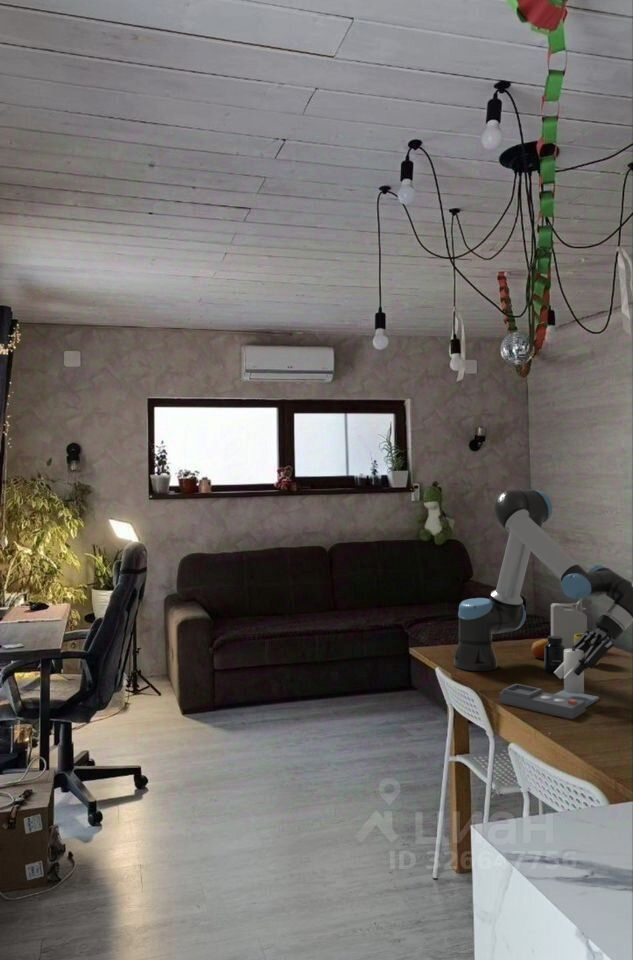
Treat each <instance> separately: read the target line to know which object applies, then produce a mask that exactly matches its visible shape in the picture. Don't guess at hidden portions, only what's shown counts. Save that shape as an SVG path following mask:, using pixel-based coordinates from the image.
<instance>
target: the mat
mask: <svg viewBox="0 0 633 960" xmlns="http://www.w3.org/2000/svg"><path fill="white" fill-rule="evenodd" d="M553 694H554V695H559V696H563V697H568V698H573V699H578V700H582V701H585V708H587V707H588V706H591V705H592V704H594V703H596V702H598V701H599V700H600V696H596V695H591V694H586V693H579V694H575V693H568V692H566V691H564V689H561V690H560V691H558V692H556V693H553Z"/></svg>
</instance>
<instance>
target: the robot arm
mask: <svg viewBox="0 0 633 960" xmlns="http://www.w3.org/2000/svg"><path fill="white" fill-rule="evenodd" d="M493 513H494V516H495V518H496V520H497V522H498V523H499V525H501V527H502V528H503V529H504V530H505V531H506V532H507V533H508V538H507V543H506V545H505V551H504V554H503V559H502V564H501V567H500V571H499V576H498V580H497V581H498V582H497V584H496V589H494V590H492V591H491V592H490V594H489V595H490V596H489V598H486V597H476V598H468V599H464V600H462V601H461V602H460V603H459V606H458V612H457V613H458V614H457V616H458V645H457V647H456V651H455V654H454V657H453V666H454V667H456V668H458V669H460V670H464V671H473V672H488V671H489V672H490V671H494V670H496V669H497V668H498V659H497V656H496V653H495V650H494V646H493V635H494V634H502V633H510V632H514V631H517V630H518V629H520V628H522V626H523V625H524V623H525V621H526V617H527V616H526V615H527V612H526V610H525V605H524V604H523V603H524V599H523V598H522V596H521V593H522V592H521V591H522V588H523V584H524V580H525V575H526V572H527V567H528V565H529V564H528V563H529V559H530V556H531V553H532V554H533V555H534V556H535V557H536V558H537V559H538V560H539V561H540V562H541V563H542V564H543V565H544V566H545V567H546V568H547V569H548V570H549V571H550V572H551V573H552V574H553V575H554V576H555V577H556V579H558V580H559V581H560V582H561V583H560V584H561V585H560V587H561V590H562V593H563V594H564V595H565V596H566V597H567V598H570V599H574V600H576V599H577V600H578V599H579V600H580V599H583V600H584V599H586V598H592V597H593V598H594V597H600V596H605V597H608V598H609V599H611V600H612V601H614V602H612V603H611V605H609V607H607V608H606V610H605V611H604V612H603V613H604V614H601V616H600V617H599V618H597V619H596V621H595V625H596V627H595V628H594V629H593V630H591V631H589V630H588V629H587V630H586V631H585V632H584V634H583V635H582V636H581V638H580V639H579V640H578V641H577V642H576V643H575V644H574V645H575V649H579V650H582V651H584V654H585V653H586V652H587V653H586V654H585V656H584V657H583V659H582V660H578V661H579V662H580V663H581V664H580V663H579V662H577V663H576V664H575V665H574V667H573V668H572V669H571V670H570V671H569V672H568V673H567V674H566V675H565V676H564V662H563V663H562V664H561V665H560V666H559V667H558V668H557V669H556V671H555V672H554V673H555V674H554V675H556V676H557V677H558V679H560V680H562V679H563V680H564V679H565V680H566V681H567V682H568V683H569V684H570V685H571V684H572V683H573V682H574V680H575V679H576V678H577V677H578V676H579V675H580V674H581V673H582V672H583V671H584V672H585V670H587V669H591V670H592V669H593V668H594V667H596V666H597V665H596V664H597V662H598V661H599V660H601V659H602V658H603V657H604V656H605V654H607V652H608V651H610V649H612V648H613V647H614V645H615V644H614V643H613V642H612V640H614V641H615V640H618V638H620V637H621V636H622V634H623V633H624V631H625V630H627V628H628V627H630V626H631V624H632V622H633V580H632V581H630V580H627V579H626V578H624V577H623V576H621V575H619V574H618V573H617V572H615V571H613V570H612V569H610V568H609V567H607V566H604V565H602V564H596V565H594V566H592V567H591V568H590V569H589V570H588V571H586V570H585V569H584V568H582V567H581V565H580V564H578V562H576V560H575V559H573V558H572V557H571V556H570V554H568V552H566V551H565V550H564V548H563V547H561V546H560V545H559V544H558V542H556V541H555V540H554V539H552V537H551V536H550V535H549V534H548V533H546V531H544V530H543V529H542V527H543V526H542V525H543V523H546V522H547V521H548V520H550V518H551V517H552V515H553V504H552V501H551V500H550V497H549V495H548V494H546V493H545V492H544V491H542V490H538V489H531V488H530V489H507V490H504V491H503V492H501V493H500V494H498V496H497V497H496V498H495V501H494V504H493ZM570 649H572V647H571V648H570ZM599 662H600V661H599ZM591 663H592V664H591Z"/></svg>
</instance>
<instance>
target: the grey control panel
mask: <svg viewBox="0 0 633 960" xmlns="http://www.w3.org/2000/svg"><path fill="white" fill-rule="evenodd" d="M498 693H499V699H498V700H499V703H500V704H502V705H503V704H504V705H508V706H513V707H517V708H521V709H526V710H528V711H529V710H530V711H533V712H538V713H539V712H540V713H543V714H547V715H551V716H556V717H559V718H560V717H561V718H564V719H569V720H573V719H575V718H577V717H579V716H580V715H582V714H584V713H585V712H586V707H585V701H582V700H578V699H573V698H568V697H563V696H559V695H554V694H555V693H549V692H544V691H543V689H542V688H540V687H534V686H531V685H525V684H520V683H514V684H511V685H509V686H507V687H505V688H502V691H500V692H498Z"/></svg>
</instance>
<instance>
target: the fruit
mask: <svg viewBox="0 0 633 960" xmlns="http://www.w3.org/2000/svg"><path fill="white" fill-rule="evenodd" d="M546 644H548V639H545V638H541V639H540V640H537V641H534V642H533V643H532V646H531V654H532V655H533V656H534V657H535V658H536V659H539V660H544V653H545V645H546Z"/></svg>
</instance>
